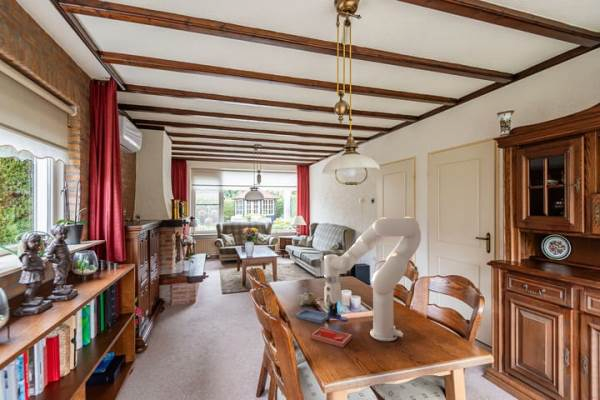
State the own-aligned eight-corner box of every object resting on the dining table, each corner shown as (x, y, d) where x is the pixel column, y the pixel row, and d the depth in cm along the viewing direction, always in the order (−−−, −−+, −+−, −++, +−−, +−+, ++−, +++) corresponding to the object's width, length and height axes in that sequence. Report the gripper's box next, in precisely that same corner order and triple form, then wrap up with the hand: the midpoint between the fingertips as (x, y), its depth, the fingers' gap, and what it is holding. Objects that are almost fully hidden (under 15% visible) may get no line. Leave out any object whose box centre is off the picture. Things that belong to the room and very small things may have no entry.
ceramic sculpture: (295, 289, 183) (316, 288, 187) (294, 302, 182) (315, 301, 187) (300, 294, 173) (322, 293, 177) (299, 308, 172) (322, 307, 177)
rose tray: (351, 338, 133) (351, 334, 133) (343, 347, 124) (343, 343, 124) (321, 330, 141) (321, 326, 142) (311, 338, 133) (311, 334, 133)
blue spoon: (326, 318, 144) (326, 313, 144) (329, 315, 147) (329, 310, 147) (346, 322, 138) (346, 317, 138) (349, 320, 141) (349, 314, 141)
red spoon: (319, 336, 134) (319, 331, 134) (323, 333, 137) (323, 328, 137) (340, 342, 128) (340, 336, 128) (343, 339, 132) (343, 333, 132)
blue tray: (330, 317, 159) (330, 313, 159) (321, 323, 150) (321, 320, 150) (305, 311, 167) (305, 308, 167) (296, 317, 159) (296, 314, 159)
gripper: (332, 283, 136) (333, 322, 135) (345, 276, 149) (346, 311, 148) (318, 281, 140) (319, 319, 139) (332, 275, 153) (333, 309, 152)
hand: (333, 315), depth 144 cm, fingers closed on blue spoon, 1 cm apart
